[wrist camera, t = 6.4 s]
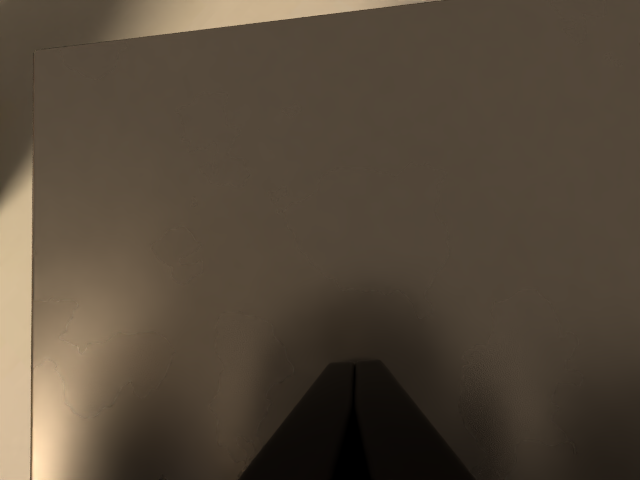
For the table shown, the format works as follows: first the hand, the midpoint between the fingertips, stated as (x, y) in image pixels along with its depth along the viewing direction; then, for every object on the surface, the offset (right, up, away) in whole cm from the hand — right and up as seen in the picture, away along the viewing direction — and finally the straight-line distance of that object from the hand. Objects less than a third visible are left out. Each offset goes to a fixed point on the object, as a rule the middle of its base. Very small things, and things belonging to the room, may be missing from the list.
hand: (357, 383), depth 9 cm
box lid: (0, 0, +1) cm, 1 cm away
